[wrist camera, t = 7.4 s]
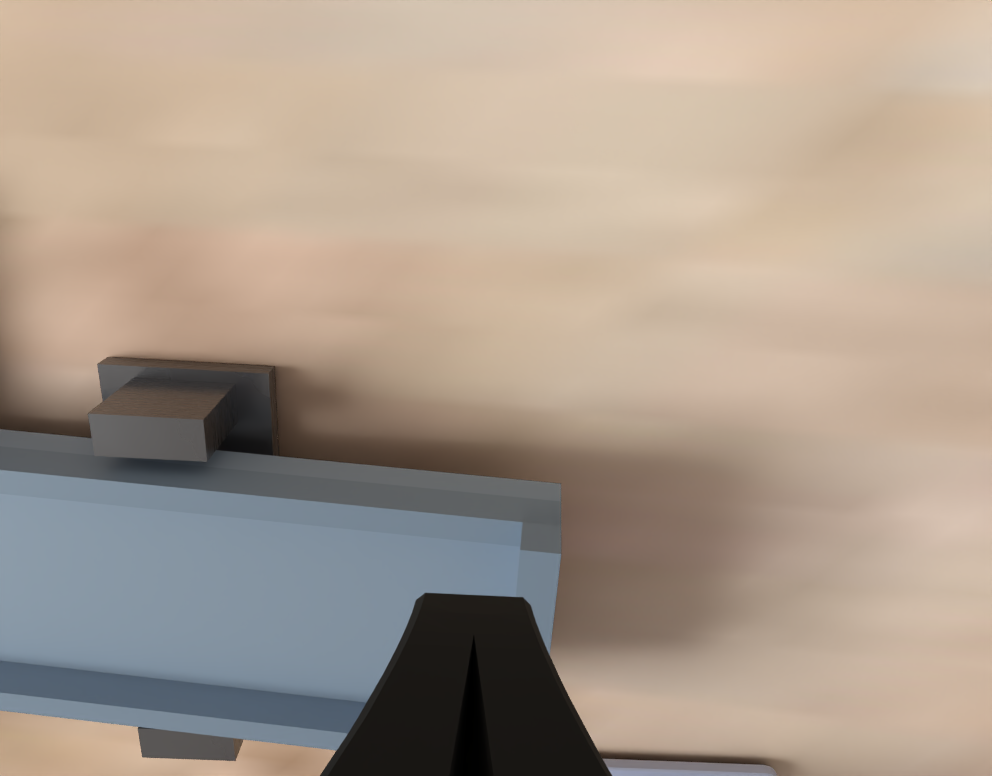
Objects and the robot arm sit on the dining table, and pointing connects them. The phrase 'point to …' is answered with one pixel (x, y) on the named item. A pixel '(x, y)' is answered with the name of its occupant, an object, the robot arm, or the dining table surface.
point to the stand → (184, 454)
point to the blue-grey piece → (241, 581)
